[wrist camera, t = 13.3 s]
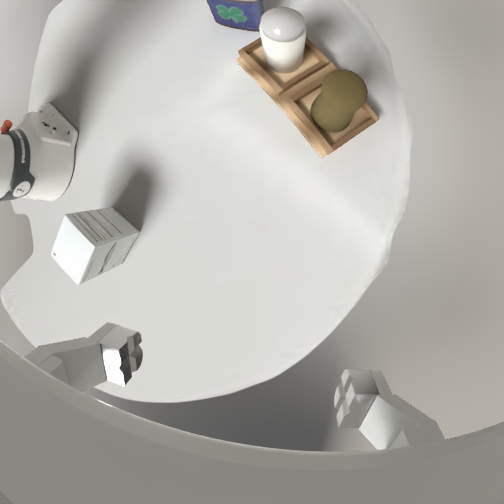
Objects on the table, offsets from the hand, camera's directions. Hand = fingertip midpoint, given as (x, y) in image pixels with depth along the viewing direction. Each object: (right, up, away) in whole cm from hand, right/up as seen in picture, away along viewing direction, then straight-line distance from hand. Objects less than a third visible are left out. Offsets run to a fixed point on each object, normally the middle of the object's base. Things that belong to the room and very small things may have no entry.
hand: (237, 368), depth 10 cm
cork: (+12, +24, +24) cm, 36 cm away
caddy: (+9, +29, +25) cm, 39 cm away
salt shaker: (+5, +33, +23) cm, 40 cm away
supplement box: (-23, +7, +33) cm, 41 cm away
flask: (-2, +42, +23) cm, 48 cm away
